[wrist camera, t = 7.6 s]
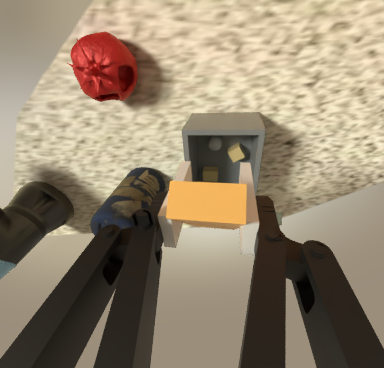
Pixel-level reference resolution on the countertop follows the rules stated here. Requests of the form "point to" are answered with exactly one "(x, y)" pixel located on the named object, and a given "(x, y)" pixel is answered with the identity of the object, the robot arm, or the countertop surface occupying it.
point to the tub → (223, 145)
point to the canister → (128, 199)
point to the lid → (209, 204)
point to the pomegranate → (104, 67)
